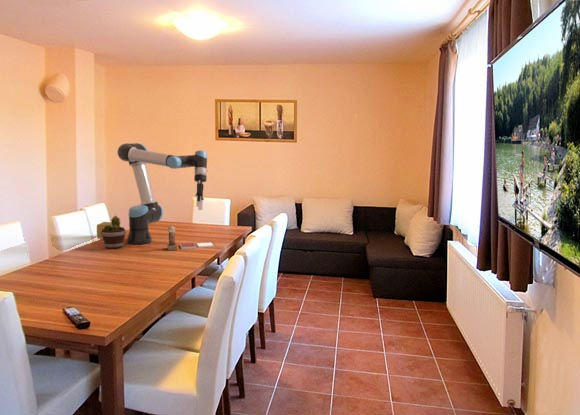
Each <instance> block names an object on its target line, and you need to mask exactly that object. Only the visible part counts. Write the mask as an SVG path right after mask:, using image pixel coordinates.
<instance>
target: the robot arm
mask: <svg viewBox="0 0 580 415" xmlns="http://www.w3.org/2000/svg"><path fill="white" fill-rule="evenodd" d="M117 156H118V157H119V159H120V160H121V161H123V162H128V165H129V166H130V167H131V168H132V171H133V175H134V179H135V183H136V186H137V190H138V194H139V198H140V204H139V205H134V206H131V207H130V208H129V210H128V221H129V222H128V223H129V224H128V226H129V227H128V228H129V232H128V235H127V238H126V243H127V244H129V245H132V246H133V245H134V246H135V245H147V244H151V243H152V242H153V239H152V237H151V236H152V235H151V232H150V230H149V225H150V224H153V223H154V224H155V223H158V222H159V221H161V219H162V218H163V217H164V209H163V207H162V206H161V205H160V204H159V203H158V201H157V200H156V199H155V196H154V193H153V189H152V185H151V180H150V177H149V173H148V169H147V165H146V164H152V165H156V166H161V167H168V168H170V169H174V170H175V169H186V168H194V177H193V180H194V182H196V193H195V196H196V202H195V203H196V205H195V206H196V208H197V210H198V211H203V205H204V185H205V184H204V183H205V182H207V172H208V168H207V167H208V166H207V165H208V164H207V163H208V153H207V152H206V151H205V150H200V149H199V150H196V151H195V152H194V154H192V155H191V154H190V155H173V154H166V153H161V152H155V151H149V150H148V148H147V146H145V145H144V144H142V143H137V142H135V143H134V142H133V143H123V144H120V146H119V147H118V148H117Z"/></svg>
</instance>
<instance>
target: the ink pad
mask: <svg viewBox="0 0 580 415" xmlns="http://www.w3.org/2000/svg"><path fill="white" fill-rule="evenodd" d="M195 243H196V242H186V243H185V242H184V243H183V242H182V243H179V247H180V249H182V250H186V249H187V250H188V249H197V246H196V244H195Z"/></svg>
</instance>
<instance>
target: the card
mask: <svg viewBox="0 0 580 415" xmlns="http://www.w3.org/2000/svg"><path fill="white" fill-rule="evenodd" d="M194 243H195V245H196V248H210V247H211V248H213V247H216V245H215V243H214V241H206V242H194Z"/></svg>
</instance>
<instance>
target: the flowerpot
mask: <svg viewBox="0 0 580 415" xmlns="http://www.w3.org/2000/svg"><path fill="white" fill-rule="evenodd" d="M110 222H112V225H113V226H112V225H111V226H112V227H111V226H110V225H107V226H105V227H104V229H102V231H101V232H100V234H101V236H103V239H102V240H103V241H104V242H103V246H104V247H105V249H110V250H113V249H120V248H123V246H124V245H125V241H124V240H125V235H126V234H127V230H126V229H125V227H123V226H121V225H122V224H121V218H120V217H118V215H117V214H115V215H114V216H113V217H112V218H111V219H110Z"/></svg>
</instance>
